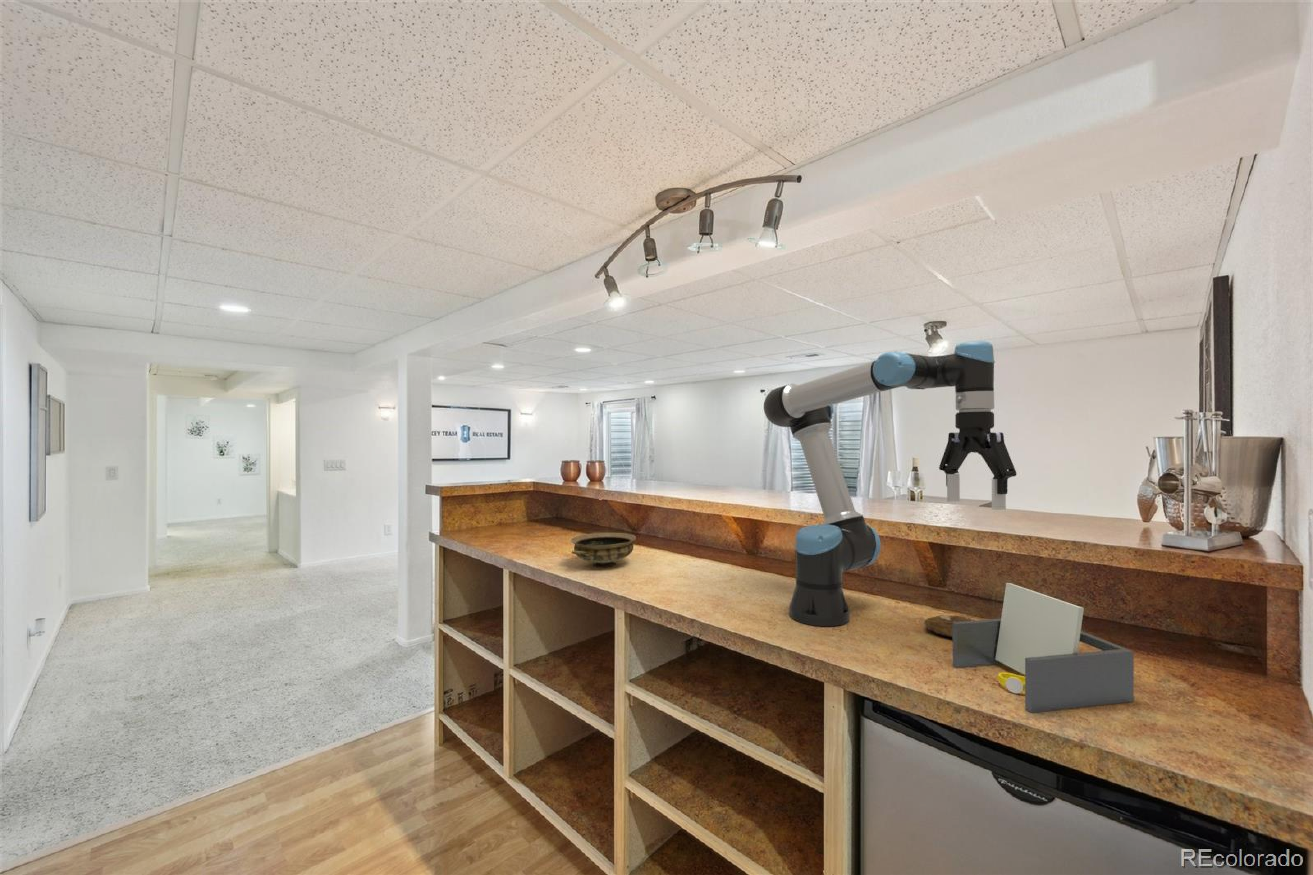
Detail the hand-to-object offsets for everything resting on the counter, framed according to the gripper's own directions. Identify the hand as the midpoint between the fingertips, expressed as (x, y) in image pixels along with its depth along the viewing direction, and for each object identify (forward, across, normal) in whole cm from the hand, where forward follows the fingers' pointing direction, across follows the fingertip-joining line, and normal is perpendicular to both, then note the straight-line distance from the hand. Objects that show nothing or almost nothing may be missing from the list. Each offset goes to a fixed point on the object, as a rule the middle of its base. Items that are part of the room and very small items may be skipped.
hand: (974, 505), depth 121 cm
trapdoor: (+23, +18, -2) cm, 29 cm away
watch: (+31, +17, -5) cm, 36 cm away
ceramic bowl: (+32, -91, -78) cm, 124 cm away
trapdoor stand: (+32, +18, -2) cm, 37 cm away
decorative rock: (+32, -6, +1) cm, 33 cm away
